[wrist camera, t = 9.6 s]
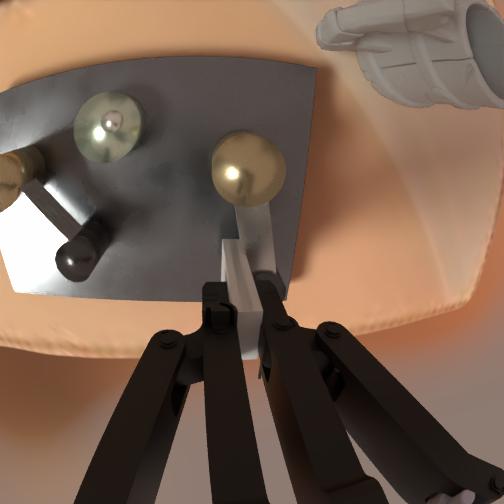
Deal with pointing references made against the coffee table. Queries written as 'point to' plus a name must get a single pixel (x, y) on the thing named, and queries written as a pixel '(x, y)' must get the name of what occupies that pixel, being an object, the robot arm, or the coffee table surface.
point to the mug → (423, 49)
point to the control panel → (153, 167)
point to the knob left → (49, 215)
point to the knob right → (251, 196)
